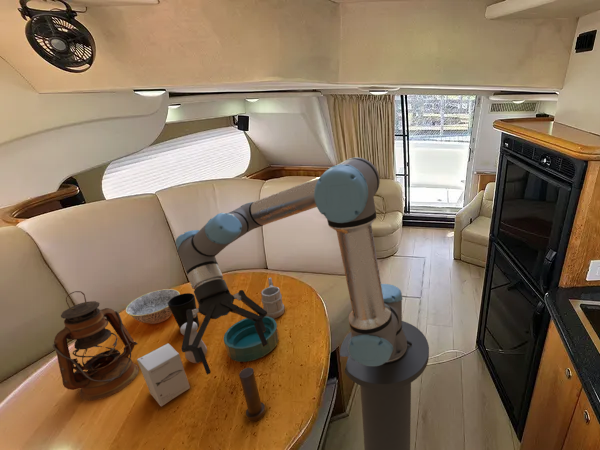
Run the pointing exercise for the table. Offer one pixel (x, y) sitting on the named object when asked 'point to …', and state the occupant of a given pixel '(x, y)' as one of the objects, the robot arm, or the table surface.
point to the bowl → (152, 306)
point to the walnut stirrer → (251, 395)
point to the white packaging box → (164, 373)
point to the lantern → (102, 367)
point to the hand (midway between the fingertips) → (238, 358)
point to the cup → (182, 308)
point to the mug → (272, 301)
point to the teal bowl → (250, 340)
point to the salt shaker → (189, 354)
